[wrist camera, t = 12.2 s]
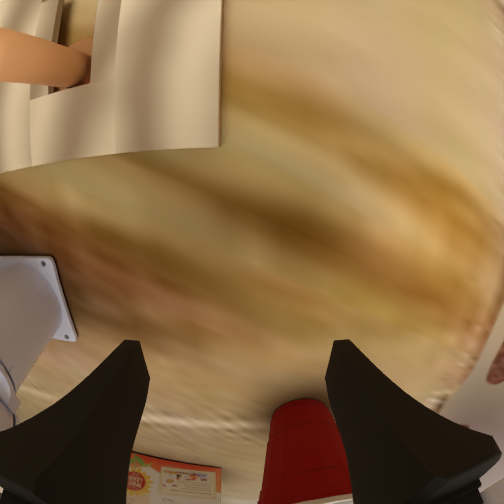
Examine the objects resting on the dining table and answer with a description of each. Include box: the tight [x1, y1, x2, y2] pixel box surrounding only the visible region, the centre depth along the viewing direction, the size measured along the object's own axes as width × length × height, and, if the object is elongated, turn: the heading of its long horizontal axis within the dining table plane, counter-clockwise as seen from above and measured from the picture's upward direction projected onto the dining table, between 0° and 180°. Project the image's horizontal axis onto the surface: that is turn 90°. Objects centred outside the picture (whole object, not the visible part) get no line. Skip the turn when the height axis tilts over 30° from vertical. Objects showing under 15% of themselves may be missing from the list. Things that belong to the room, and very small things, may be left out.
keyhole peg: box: [0, 27, 93, 93], centre depth 10 cm, size 5×5×9 cm
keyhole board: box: [0, 0, 224, 173], centre depth 11 cm, size 18×22×2 cm
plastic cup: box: [257, 399, 353, 504], centre depth 21 cm, size 11×11×12 cm
